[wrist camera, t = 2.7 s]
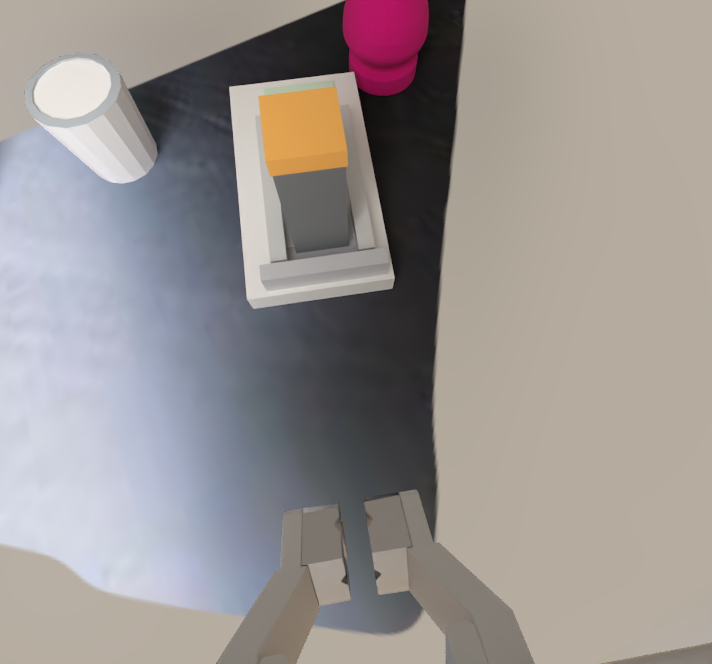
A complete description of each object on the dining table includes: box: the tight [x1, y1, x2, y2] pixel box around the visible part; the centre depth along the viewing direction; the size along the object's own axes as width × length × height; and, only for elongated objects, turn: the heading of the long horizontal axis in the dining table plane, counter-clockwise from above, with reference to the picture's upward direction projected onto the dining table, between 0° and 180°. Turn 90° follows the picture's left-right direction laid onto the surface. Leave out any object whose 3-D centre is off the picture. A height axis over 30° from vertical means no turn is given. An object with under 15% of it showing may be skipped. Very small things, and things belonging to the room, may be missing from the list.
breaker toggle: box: [258, 87, 349, 254], centre depth 26 cm, size 4×4×10 cm
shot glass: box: [24, 53, 158, 183], centre depth 32 cm, size 7×7×7 cm
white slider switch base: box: [229, 72, 395, 309], centre depth 32 cm, size 11×20×4 cm, turn 9°
